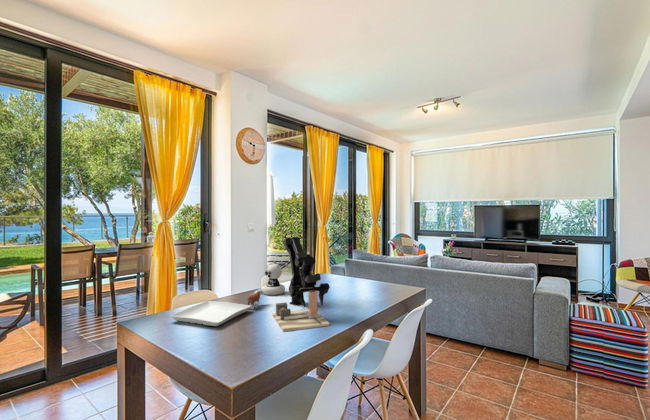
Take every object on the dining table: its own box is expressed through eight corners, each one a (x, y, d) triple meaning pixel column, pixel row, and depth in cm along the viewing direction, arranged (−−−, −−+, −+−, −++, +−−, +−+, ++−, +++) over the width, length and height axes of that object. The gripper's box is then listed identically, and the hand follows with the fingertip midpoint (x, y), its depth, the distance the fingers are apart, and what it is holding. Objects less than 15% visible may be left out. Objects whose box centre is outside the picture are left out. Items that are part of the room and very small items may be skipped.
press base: (272, 315, 161) (272, 303, 161) (313, 310, 168) (313, 299, 168) (283, 331, 140) (282, 317, 140) (329, 325, 147) (329, 311, 147)
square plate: (168, 323, 152) (168, 315, 152) (208, 307, 178) (208, 299, 178) (217, 330, 143) (217, 321, 143) (252, 312, 168) (252, 304, 168)
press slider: (279, 317, 154) (279, 292, 154) (316, 313, 160) (316, 289, 160) (282, 321, 148) (282, 295, 148) (321, 317, 154) (320, 291, 154)
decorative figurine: (256, 293, 204) (255, 261, 204) (272, 289, 216) (272, 258, 216) (273, 297, 195) (273, 263, 195) (290, 292, 207) (289, 260, 207)
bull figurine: (265, 303, 183) (264, 288, 183) (251, 310, 170) (251, 294, 170) (258, 302, 184) (257, 287, 184) (244, 309, 172) (244, 293, 172)
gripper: (291, 269, 157) (297, 298, 146) (328, 266, 163) (336, 294, 153) (287, 282, 164) (293, 311, 154) (322, 279, 170) (330, 306, 160)
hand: (313, 305), depth 155 cm, fingers open, 8 cm apart
